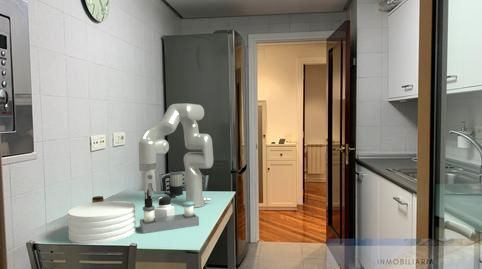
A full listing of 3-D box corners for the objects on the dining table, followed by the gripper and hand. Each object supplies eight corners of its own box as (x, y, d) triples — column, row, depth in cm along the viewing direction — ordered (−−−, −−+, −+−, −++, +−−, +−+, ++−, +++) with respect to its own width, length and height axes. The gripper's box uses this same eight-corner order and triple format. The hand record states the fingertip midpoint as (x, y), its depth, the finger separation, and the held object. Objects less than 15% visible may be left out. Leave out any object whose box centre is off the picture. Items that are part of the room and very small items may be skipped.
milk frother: (181, 192, 243) (181, 171, 242) (187, 196, 228) (186, 174, 228) (161, 194, 237) (160, 172, 236) (165, 199, 222) (165, 176, 222)
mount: (193, 220, 173) (193, 212, 173) (199, 225, 165) (198, 217, 165) (139, 228, 162) (139, 219, 162) (143, 233, 154) (142, 224, 154)
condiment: (88, 220, 176) (88, 197, 176) (104, 216, 183) (103, 194, 182) (95, 223, 172) (95, 199, 171) (111, 219, 178) (111, 196, 178)
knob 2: (192, 214, 171) (192, 200, 171) (195, 217, 166) (195, 202, 166) (182, 216, 169) (182, 201, 169) (185, 218, 164) (185, 204, 164)
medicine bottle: (174, 219, 175) (174, 196, 175) (167, 223, 169) (166, 199, 168) (162, 218, 178) (161, 195, 177) (154, 222, 171) (154, 198, 170)
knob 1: (153, 220, 163) (153, 205, 163) (155, 222, 158) (155, 207, 158) (142, 221, 161) (142, 206, 161) (144, 224, 156) (143, 209, 156)
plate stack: (83, 225, 169) (82, 201, 169) (141, 222, 172) (140, 200, 171) (57, 245, 142) (56, 217, 141) (127, 242, 144) (126, 215, 143)
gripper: (159, 168, 153) (160, 209, 154) (152, 164, 167) (153, 202, 168) (141, 169, 150) (142, 211, 151) (136, 166, 164) (137, 204, 164)
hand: (148, 206), depth 159 cm, fingers closed
